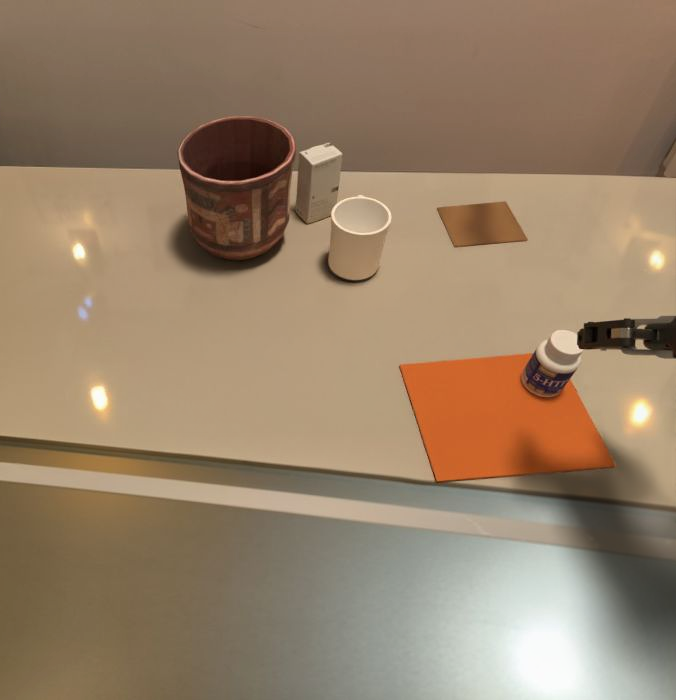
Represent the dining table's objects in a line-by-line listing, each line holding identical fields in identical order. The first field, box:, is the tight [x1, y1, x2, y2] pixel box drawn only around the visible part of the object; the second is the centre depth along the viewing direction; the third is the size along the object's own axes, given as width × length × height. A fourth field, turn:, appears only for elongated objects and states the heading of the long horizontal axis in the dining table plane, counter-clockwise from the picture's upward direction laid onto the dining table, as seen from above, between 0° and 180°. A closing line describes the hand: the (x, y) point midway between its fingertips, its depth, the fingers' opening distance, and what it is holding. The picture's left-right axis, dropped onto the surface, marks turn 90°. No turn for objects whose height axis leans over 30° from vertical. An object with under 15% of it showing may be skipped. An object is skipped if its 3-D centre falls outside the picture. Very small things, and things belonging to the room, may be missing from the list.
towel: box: [399, 352, 617, 483], centre depth 80 cm, size 22×18×1 cm
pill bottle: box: [521, 329, 585, 397], centre depth 79 cm, size 5×5×9 cm
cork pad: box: [436, 200, 528, 248], centre depth 103 cm, size 12×10×1 cm
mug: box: [327, 194, 392, 283], centre depth 96 cm, size 11×9×10 cm
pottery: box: [177, 115, 297, 261], centre depth 98 cm, size 18×18×18 cm
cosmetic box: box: [295, 142, 344, 224], centre depth 103 cm, size 6×4×12 cm
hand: (620, 341), depth 65 cm, fingers open, 8 cm apart
